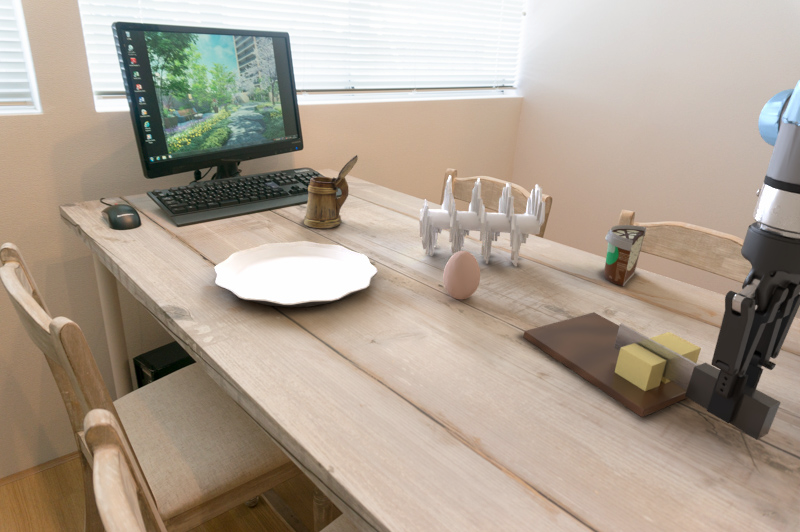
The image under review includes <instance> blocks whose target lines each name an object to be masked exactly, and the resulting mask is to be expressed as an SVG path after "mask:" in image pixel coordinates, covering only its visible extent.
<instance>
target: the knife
mask: <svg viewBox="0 0 800 532" xmlns="http://www.w3.org/2000/svg"><path fill="white" fill-rule="evenodd" d="M650 338H651V337H648V336H647V335H644V334H642V333H640V332H639V331H637V330H635V329H633V328H632V327H629V326H628V325H626V324H624V323H619V330H618V334H617V338H616V342H615V346H614V348H615V349H617V350H619V351H620V348H621V347H624V346H627V345H630V344H633V343H635V344H637V345H639V346H641V347H643V348H645V349H646V350H648V351H650V352H652V353H654V354H655V355H657V356H659V357H661V358H663V359H664V360H666V364H665V368H664V371H663V375H662V376H663V377H665V378H666V379H668V380H670V381H671V382H673V383H675V384H676V385H678V386H680V387H682V388H683V389H685V390H687V391H686V394H685V397H687V398H686V399H688V400H690V401H692V402H693V403H694V404H697V405H698V406H700V407H702V408H703V409H705V410H707V408H708V405H709V402H710V399H711V396H712V393H713V390H714V387H715V384H716V381H717V378H718V375H719V372H720V369H719V368H717V367H715V366H713V365H712V364H709V363H707V362H703V363H701V364H699V363H695V362H693V361H691V360H689V359H687V358H685V357H683V356H682V355H680V354H678V353H676V352H674V351H672V350H670V349H669V348H667V347H665V346H663V345H661V344H659V343H657V342H656V341H654V340H652V339H650ZM780 405H781V401H779V400H777V399H775V398H773V397H772V396H770V395H769V394H766V393H764V392H762V391H760V390H759V389H757V388H756V389H755V388H753V387H751V386H749V385H747V384H746V385H745V387H744V390H743V393H742V395H741V398H740V401H739V404H738V406H737V409H736V412H735V415H734V417H733V420H732V422H731V423H729V424H730V425H732V426H733V427H734V428H737V429H738V430H740V431H741V432H743V433H744V434H746V435H748V436H749V437H751V438H753V439H755V440H756V441H757V440H759V439H761V438H763V437H765V436H766V435H768V434H769V432H770V430H771V428H772V425H773V422H774V420H775V417H776V415H777V413H778V410H779V408H780Z"/></svg>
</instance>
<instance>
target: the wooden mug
mask: <svg viewBox="0 0 800 532" xmlns="http://www.w3.org/2000/svg"><path fill="white" fill-rule="evenodd" d="M358 159H359V156H358V155H357V154H356V155H355V156H353V157H352V158H350V160H349V161H347V162H346V164H345V165H344V166H343V167H342V169H341V170H340V171H339V173H338V174H337V176H333V177H329V176H313V177H311V178H310V179H309V180H310V181H309V184H308V187H307V192H308V194H307V202H306V209H305V215H304V219H303V224H304V225H305V226H307V227H309V228H314V229H332V228H336V227H338V226H340V224H341V223H342V216H341V214H340V213H341V208H342V207H343V205H344V204H345V203H346V200H347V199H348V196H349V193H350V191H349V184H348V181H347V180H346V176H347V175H349V173H350V172H351V170H352V169H353V168H354V166H355V165H356V164H357V163H358V161H359V160H358ZM339 190H340V191H341V194H340V196H339V197H337V193H338V192H339Z"/></svg>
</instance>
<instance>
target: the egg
mask: <svg viewBox="0 0 800 532" xmlns="http://www.w3.org/2000/svg"><path fill="white" fill-rule="evenodd" d="M442 282H443V286H444V289H445V291H446V292H447V293H448V295H450V297H452V298H454V299H456V300H466V299H468V298H470V297H471V296H473V295H474V294H475V293H476V291H477V290H478V288H479V286H480V282H481V268H480V265H479V262H478V260H477V258H476V257H475V255H474V254H472V253H471V252H469V251H467V250H461V251H459V252H457V253H453V254H452V255H451V257H449V258H448V261H447V262H446V264H445V266H444V270H443V275H442Z"/></svg>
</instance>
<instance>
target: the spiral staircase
mask: <svg viewBox="0 0 800 532" xmlns="http://www.w3.org/2000/svg"><path fill="white" fill-rule="evenodd" d="M476 178H477V180H476V181H474V188H472V191H471V202H469V206H468V211H466V210H458V209H457V210H456V202H455V198H454V194H453V180H452V175H448V178H447V179H446V183H445V187H444V193H443V194H444V195H443V202H442V204H441V208H440V209H429V206H428V199H426V198H424V201H423V203H422V208H421V209H420V213H419V237H420V238H421V244H422V249H423V250H425V255H430V256H431V257H432V256H433V255H434V251H435V248H436V247H438V239H439V234H442V231H443V230H449V237H448V238H449V243H451V254H455V253H457V252H459V251H462V248H464V247H465V237H466V236H467V237H468V236H470V232H471V231H472V232H474V231H475V232H479V242H481V253H480V254H481V256H483V261H485V264H486V265H487V264H489V259H490V257H491V253H492V242H498V237H501V233H507V234H509V247H511V253H510V260H512V261H511V263H512V265H514V267H518V260H519V255H520V250H521V246H522V244H527V239H529V237H530V235H540V233H541V227H542V226H543V225H544V223H545V216H546V200H545V201H544V200H543V186H539V183H536V184H535V187H534V188H532V189H531V192H530V196H528V197H527V203H526V209H525V212H523V213H515V208H514V204H515V203H514V202H515V195H512V183H511V182H505V186H503V187H502V195H501V196H499V201H498V212H489V211H485V210H486V209H485V208H486V205H485V204H483V203H484V200H483V199H484V198H483V197H481V195H482V181H481V177H476Z"/></svg>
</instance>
